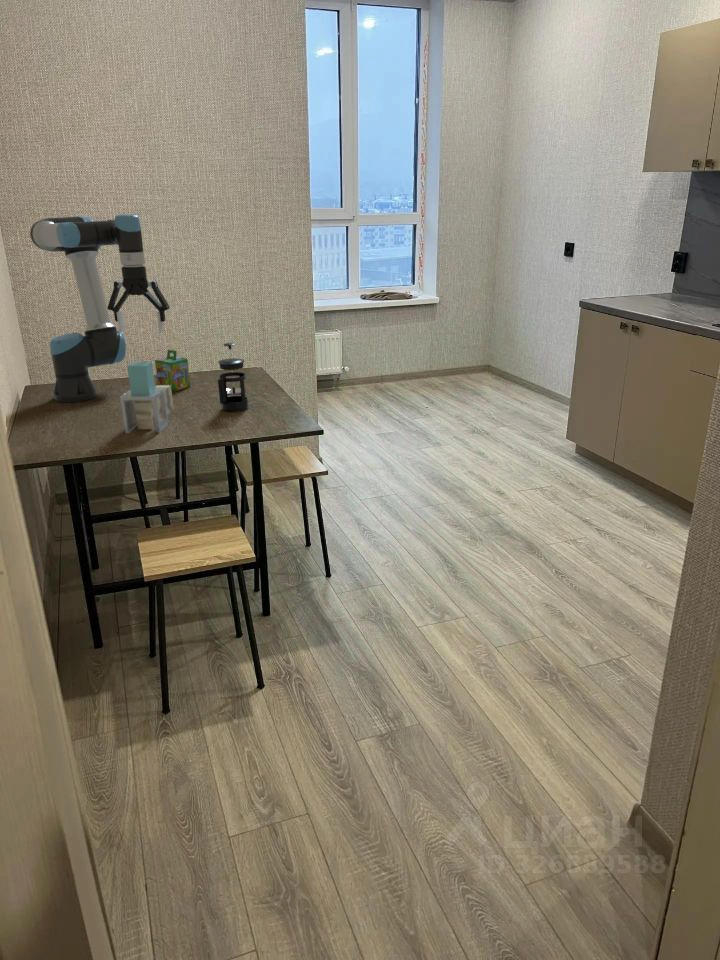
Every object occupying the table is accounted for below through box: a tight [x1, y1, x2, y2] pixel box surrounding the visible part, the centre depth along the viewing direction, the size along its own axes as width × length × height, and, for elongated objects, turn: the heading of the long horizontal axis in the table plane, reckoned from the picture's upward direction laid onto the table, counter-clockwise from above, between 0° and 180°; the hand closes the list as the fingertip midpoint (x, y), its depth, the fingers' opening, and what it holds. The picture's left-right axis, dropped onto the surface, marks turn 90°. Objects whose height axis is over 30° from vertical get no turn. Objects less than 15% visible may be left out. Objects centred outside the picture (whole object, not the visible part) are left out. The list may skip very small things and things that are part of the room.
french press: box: [217, 342, 250, 413], centre depth 243 cm, size 12×9×23 cm
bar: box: [134, 385, 175, 430], centre depth 236 cm, size 22×5×9 cm, turn 176°
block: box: [126, 361, 156, 394], centre depth 223 cm, size 6×6×9 cm
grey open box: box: [119, 388, 169, 434], centre depth 226 cm, size 10×11×12 cm
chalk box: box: [154, 349, 191, 393], centre depth 273 cm, size 9×9×15 cm
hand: (141, 331), depth 235 cm, fingers open, 13 cm apart
